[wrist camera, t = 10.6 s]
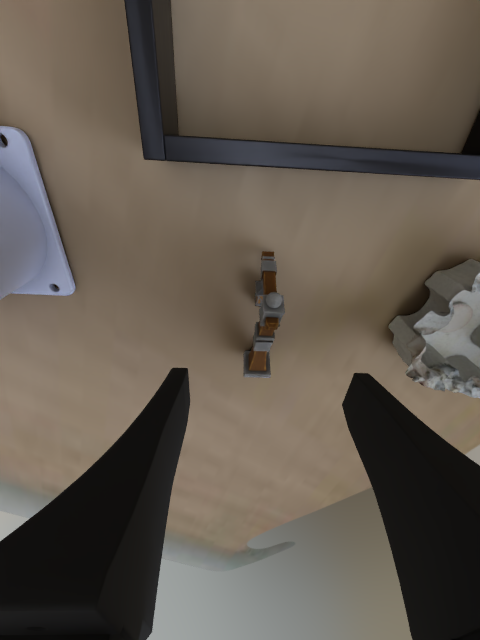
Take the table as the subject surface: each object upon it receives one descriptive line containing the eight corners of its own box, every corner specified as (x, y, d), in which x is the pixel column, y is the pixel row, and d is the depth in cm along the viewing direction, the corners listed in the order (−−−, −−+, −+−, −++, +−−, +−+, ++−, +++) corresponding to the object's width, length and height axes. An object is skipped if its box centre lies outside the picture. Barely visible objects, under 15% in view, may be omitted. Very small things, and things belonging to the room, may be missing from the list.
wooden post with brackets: (288, 238, 13) (298, 311, 11) (267, 323, 20) (270, 380, 18) (252, 236, 13) (254, 310, 11) (243, 322, 20) (243, 380, 18)
